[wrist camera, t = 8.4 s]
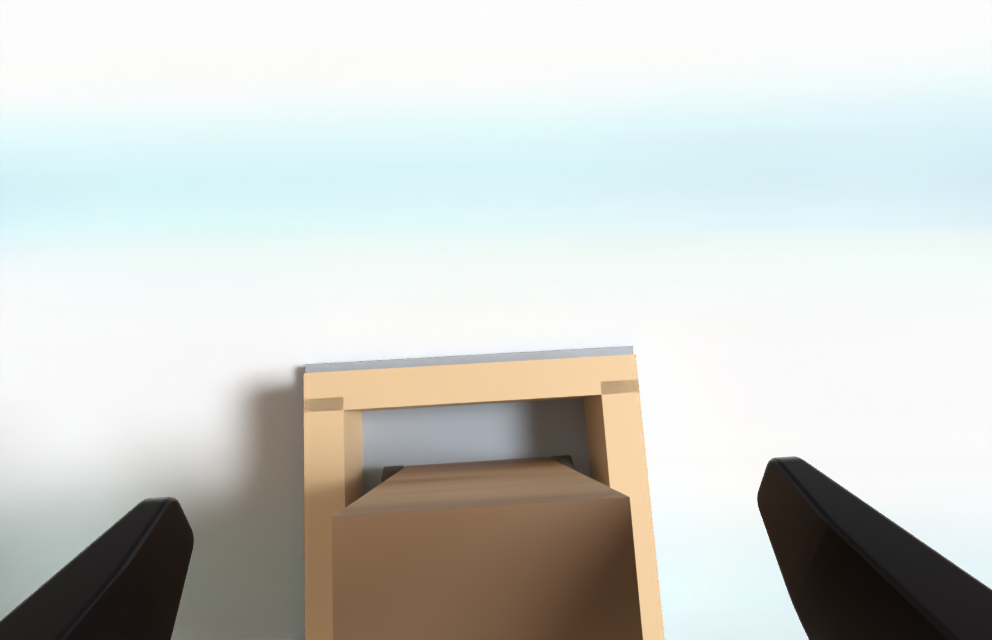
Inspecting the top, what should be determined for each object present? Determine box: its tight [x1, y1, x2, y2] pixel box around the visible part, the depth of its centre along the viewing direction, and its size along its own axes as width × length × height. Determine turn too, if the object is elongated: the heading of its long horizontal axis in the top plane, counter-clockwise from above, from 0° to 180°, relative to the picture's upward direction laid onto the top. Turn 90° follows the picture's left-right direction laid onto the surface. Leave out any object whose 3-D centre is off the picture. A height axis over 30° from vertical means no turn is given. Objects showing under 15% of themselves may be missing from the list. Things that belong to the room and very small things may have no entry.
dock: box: [304, 346, 665, 640], centre depth 19 cm, size 11×12×4 cm
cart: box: [332, 455, 643, 640], centre depth 15 cm, size 5×6×11 cm
